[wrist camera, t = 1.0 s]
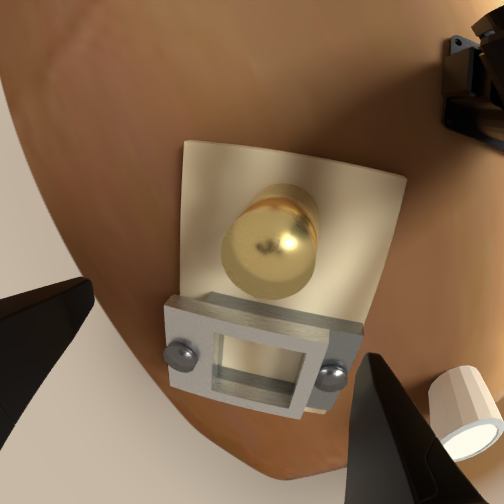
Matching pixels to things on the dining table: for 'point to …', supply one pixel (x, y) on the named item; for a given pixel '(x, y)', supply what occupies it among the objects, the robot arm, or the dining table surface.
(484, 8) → the dining table surface
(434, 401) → the white short tapered cylinder
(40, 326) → the robot arm
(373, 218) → the board
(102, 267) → the dining table surface
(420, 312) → the dining table surface
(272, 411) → the square frame with knobs
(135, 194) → the dining table surface
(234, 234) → the pin
